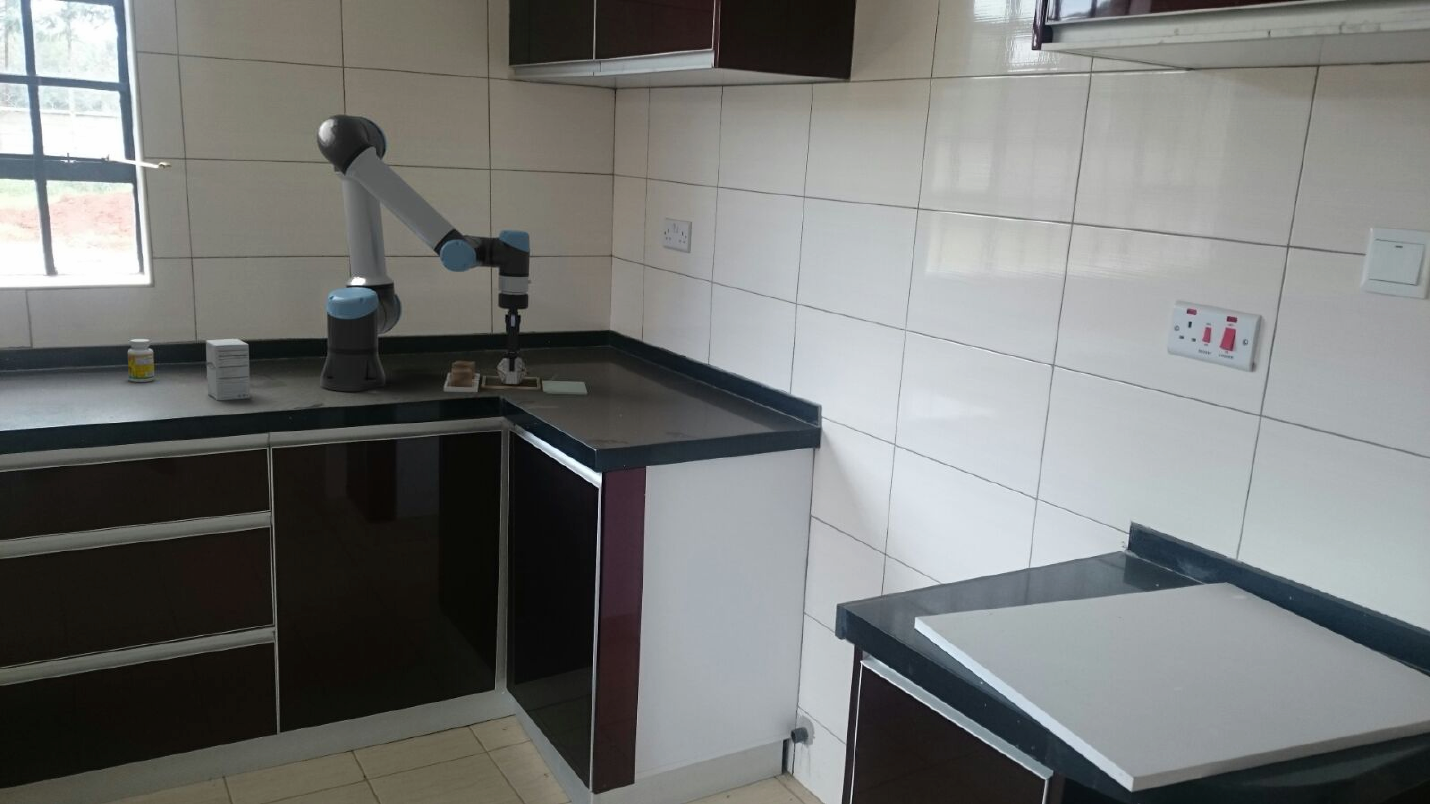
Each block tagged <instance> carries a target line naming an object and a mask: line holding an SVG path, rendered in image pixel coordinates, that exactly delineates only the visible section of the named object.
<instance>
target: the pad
mask: <svg viewBox="0 0 1430 804" xmlns="http://www.w3.org/2000/svg"><path fill="white" fill-rule="evenodd" d="M541 387H542V391H543V392H545V393H546V394H549V395H550V394H551V395H580V396H581V395H583V396H584V395H586V396H587V395H588V390H587V387H586V384H585V382H584V381H566V380H565V381H563V380H562V381H561V380H559V381H558V380H541Z"/></svg>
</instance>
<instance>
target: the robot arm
mask: <svg viewBox="0 0 1430 804" xmlns="http://www.w3.org/2000/svg"><path fill="white" fill-rule="evenodd" d="M316 143H317V147H318V149H319V151H320V153H321V154H322V156H323V157H324V159H326V160H327V161H328V162H329V163H330V164H331V165H333V173H334V175H336V176H337V177H338V178H339V179H341V185H342V187H341V188H342V195H343V205H344V215H345V227H346V235H347V245H348V254H349V264H350V265H349V266H350V273H351V276H350V278H349V280H347V282H346V283H345V287H346V288H345V287H344V288H338V289H335V290H333V291H330V293H329V294H328V296H327V304H326V306H325V307H326V308H325V309H326V319H327V320H326V325H327V329H326V330H327V356H326V359H325V362H324V366H323V369H322V371H321V374H320V387H321V388H323V389H327V390H331V391H335V392H336V391H339V392H367V391H370V390H371V389H372V390H374V389H378V388H382V387H384V386H386V375H385V371H384V369H383V365H382V363H381V360H380V357H379V336H380V335H383V334H386V333H388V332H390V331H391V330H392V329H393V328H394V327H396V326H397V324H398V323H399V322H400V319H401V317H402V313H403V306H402V302H401V299H400V297H399V296H398V294H397V293H396V292H395V283H394V279H392V277H390V276H389V275H388V274H387V262H386V252H385V242H384V241H385V240H384V233H383V230H384V229H383V219H382V209H381V204H382V206H384V207H385V208H386V209H387V210H388V211H390V212H391V213H392V214H393V215H394V216H395V217H396V218H397V219H398V220H399V221H400V222H402V223H403V224H404V225H405V226H406V227H407V228H408V229H409V230H410V231H411V232H412V233H414V234H415V235H416V236H417V238H419V239H420V240H421V241H422V242H423V243H425V244H426V245H427V246H428V247H429V248H430V249H431V250H432V251H433V252H434V253H435V254H436V255H438V256H439V259H440V262H441V265H442V266H443V267H444V268H446V269H447V270H449V271H451V272H454V273H455V272H456V273H462V272H463V273H464V272H466V271H469V270H470V269H471V270H472V269H475V268H478V267H480V268H493V269H495V268H498V278H497V279H498V280H497V281H498V282H497V283H498V284H497V286H498V288H497V289H498V291H499V293H498V294H497V295H498V296H497V297H498V298H497V299H498V301H497V306H498V308H499V309H503V310H508V311H507V314H505V315H504V323H505V333H507V343H506V354H505V355H504V354H503V358H505V359H507V360H506V384H505V385H514V384H517V357H518V356H519V355H518V352H519V351H520V350H521V347H520V346H518V335H519V334H520V329H521V327H520V325H521V323H522V321H521V320H522V316H521V314H519V311H518V310H526V309H528V308H529V294H528V292H529V289H530V288H529V285H530V284H532V280H531V279H530V278H529V276H530V257H531V255H530V254H531V248H530V243H531V242H530V235H529V233H528V232H526V231H524V230H517V229H516V230H512V229H502V230H501V231H500V232H499V235H498V237H490V236H489V237H488V236H478V235H477V236H475V235H467V234H465V235H464V234H462V233H461V232H460V231H459V230H458V229H456V227H454V225H452V224H451V222H449V221H448V220H447V219H446V218H445V217H444V216H443V215H442V214H441V213H440V212H438V211H437V210H436V209H435V208H434V207H433V206H432V205H431V204H430V203H429V202H428V201H427V200H426V199H424V198H423V197H422V196H421V195H420V193H418V192H417V191H416V189H414V188H413V187H411V186H410V184H408V183H407V182H406V181H405V180H404V179H403V178H402V177H401V176H400V175H399V174H398V173H396V172H395V170H394V169H392V168H391V167H390V166H389V165H388V164H387V163H386V162H385V161H383V158H384V156H385V154H386V153H387V147H388V141H387V137H386V135H385V133H384V131H383V129H382V128H381V126H379V125H378V124H377V123H376V122H374V121H373V120H371V119H369V118H366V117H363V116H357V115H347V114H334V115H331V116H329V117H327V118H326V119H324V120H323V121H322V122H321V124H320V125H319V127H318V129H317V132H316Z"/></svg>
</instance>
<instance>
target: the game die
mask: <svg viewBox="0 0 1430 804" xmlns="http://www.w3.org/2000/svg"><path fill="white" fill-rule="evenodd" d="M504 355H506V354H505V353H503V356H504ZM523 358H524V354H523V355H521V357H520V356H519V357H517V384H513V385H516V386H520V383H521V382H522V381H523V380H524V379H523V378H524V377H527V375H530V374H531V373H530V372H528V370H527V369H526V365H525V363H524V360H523ZM506 360H507V359H505V358H504V357H503V358H502V359H501V361H499V363H498V364H497V365H496V366H492V368H493V369H496V372H497V376H499V378H498V379H499V380H500V385H502V384H505V385H507V384H506Z"/></svg>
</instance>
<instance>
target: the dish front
mask: <svg viewBox="0 0 1430 804" xmlns="http://www.w3.org/2000/svg"><path fill="white" fill-rule="evenodd" d="M479 385H480V381H479V382H478V381H472V387H451V381H446V380H445V382H444V385H443V392H450V393H451V392H453V393H478V391H479Z"/></svg>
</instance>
